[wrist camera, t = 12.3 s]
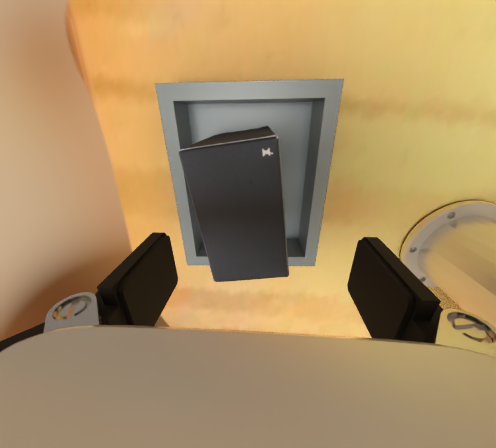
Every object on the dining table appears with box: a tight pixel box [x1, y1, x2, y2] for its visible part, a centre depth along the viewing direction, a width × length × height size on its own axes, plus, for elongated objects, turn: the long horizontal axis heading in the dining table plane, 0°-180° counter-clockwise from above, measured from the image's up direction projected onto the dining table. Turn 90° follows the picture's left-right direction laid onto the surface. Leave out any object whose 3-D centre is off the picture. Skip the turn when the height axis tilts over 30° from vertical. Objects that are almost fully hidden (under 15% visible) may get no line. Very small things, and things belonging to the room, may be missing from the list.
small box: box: [178, 126, 289, 282], centre depth 19 cm, size 11×6×10 cm, turn 8°
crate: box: [155, 79, 344, 266], centre depth 22 cm, size 14×17×5 cm
